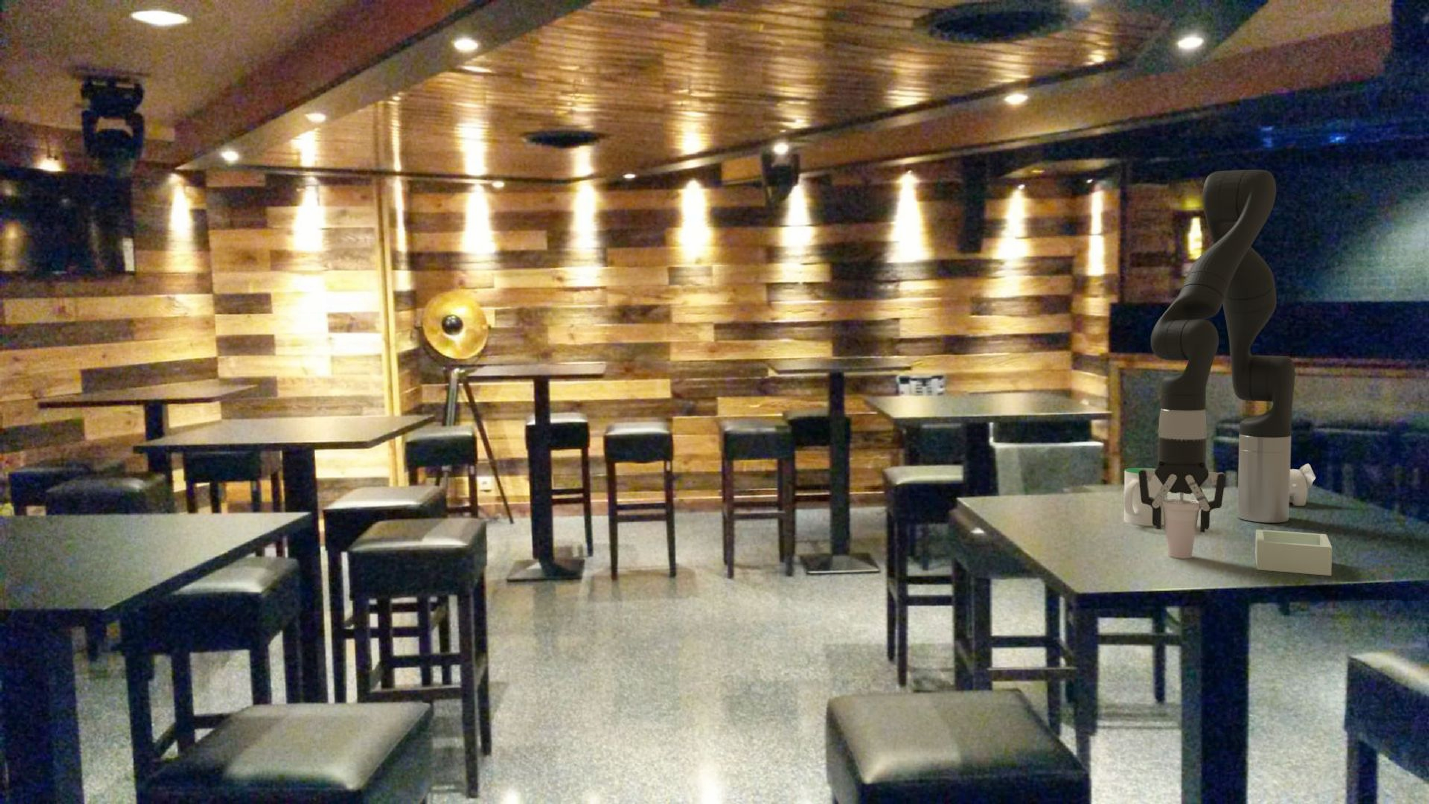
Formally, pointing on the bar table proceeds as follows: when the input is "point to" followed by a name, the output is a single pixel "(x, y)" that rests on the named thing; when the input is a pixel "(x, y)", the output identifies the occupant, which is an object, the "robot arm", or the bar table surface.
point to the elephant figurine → (1300, 484)
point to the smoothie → (1180, 525)
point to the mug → (1139, 499)
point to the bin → (1293, 552)
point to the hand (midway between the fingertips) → (1180, 529)
